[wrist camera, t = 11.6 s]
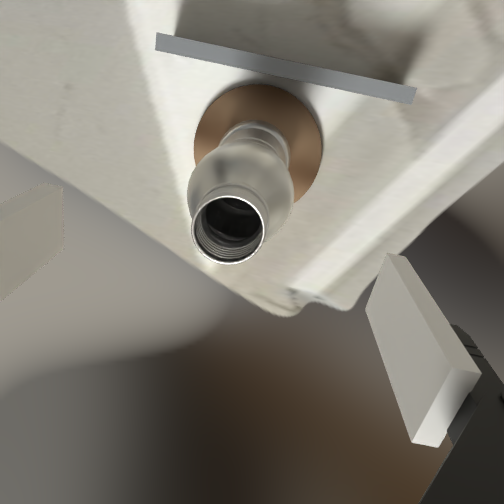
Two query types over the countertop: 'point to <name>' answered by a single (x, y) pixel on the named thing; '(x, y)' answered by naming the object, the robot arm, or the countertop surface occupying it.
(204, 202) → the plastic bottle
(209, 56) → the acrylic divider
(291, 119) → the walnut coaster
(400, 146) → the countertop surface
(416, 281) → the robot arm
